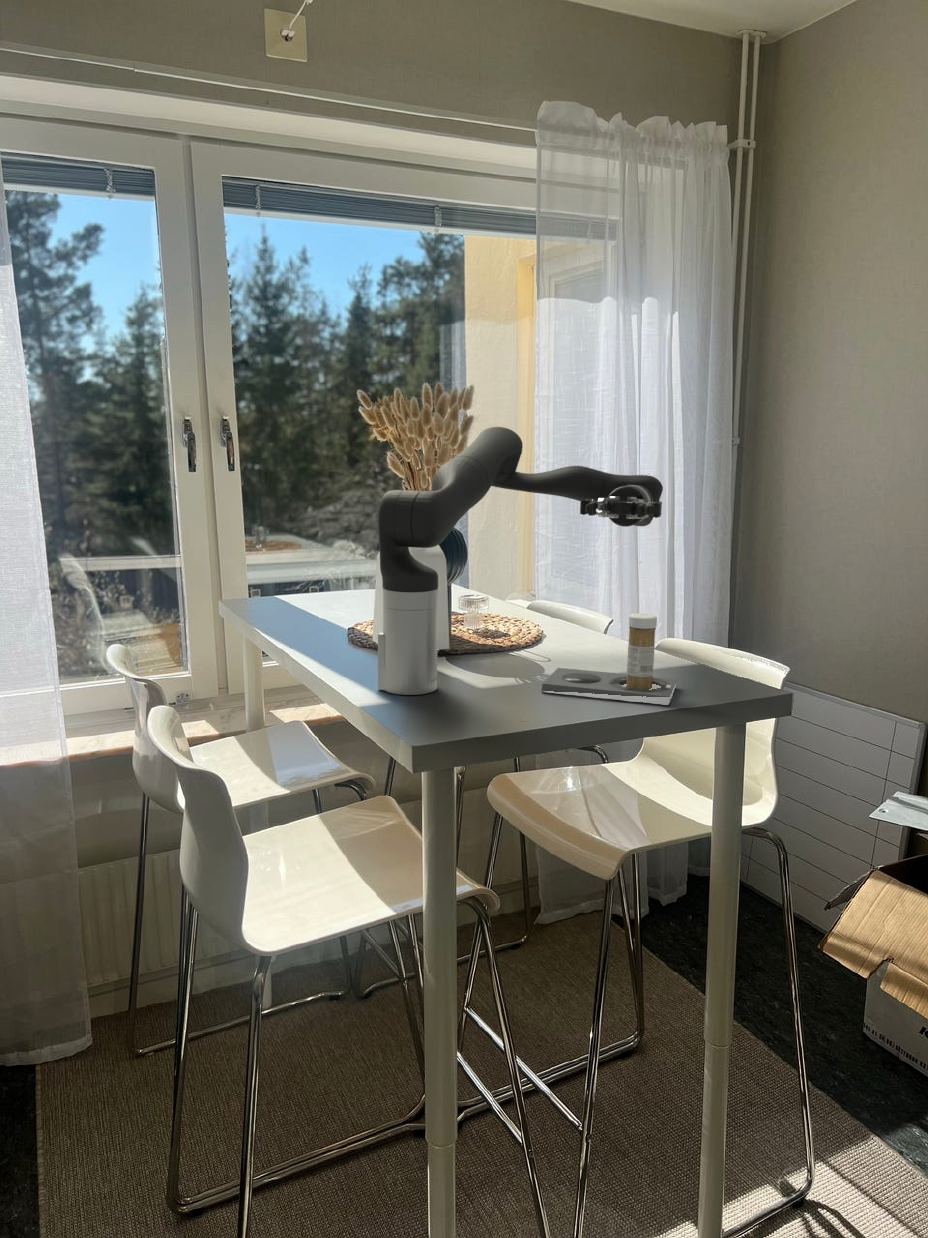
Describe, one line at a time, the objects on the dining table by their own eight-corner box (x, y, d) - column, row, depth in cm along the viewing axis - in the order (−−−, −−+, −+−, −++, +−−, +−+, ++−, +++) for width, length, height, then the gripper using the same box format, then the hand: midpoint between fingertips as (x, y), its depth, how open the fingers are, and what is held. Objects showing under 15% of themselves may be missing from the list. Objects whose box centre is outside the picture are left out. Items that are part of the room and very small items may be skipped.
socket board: (541, 692, 153) (542, 682, 153) (557, 676, 164) (558, 667, 164) (668, 706, 146) (669, 695, 146) (676, 688, 158) (677, 678, 157)
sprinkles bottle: (648, 689, 156) (653, 612, 154) (655, 696, 152) (660, 617, 149) (622, 689, 156) (626, 612, 153) (628, 696, 152) (632, 617, 149)
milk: (424, 639, 194) (425, 516, 189) (449, 650, 184) (451, 520, 179) (372, 644, 188) (371, 517, 183) (394, 655, 178) (395, 522, 173)
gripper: (592, 483, 174) (575, 487, 159) (668, 486, 170) (657, 489, 155) (591, 523, 176) (573, 530, 161) (666, 526, 171) (655, 533, 156)
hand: (614, 510), depth 158 cm, fingers open, 8 cm apart
